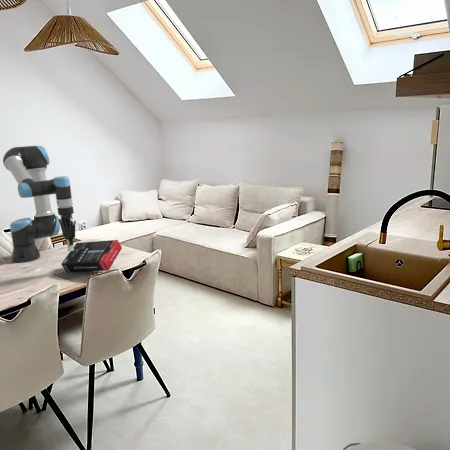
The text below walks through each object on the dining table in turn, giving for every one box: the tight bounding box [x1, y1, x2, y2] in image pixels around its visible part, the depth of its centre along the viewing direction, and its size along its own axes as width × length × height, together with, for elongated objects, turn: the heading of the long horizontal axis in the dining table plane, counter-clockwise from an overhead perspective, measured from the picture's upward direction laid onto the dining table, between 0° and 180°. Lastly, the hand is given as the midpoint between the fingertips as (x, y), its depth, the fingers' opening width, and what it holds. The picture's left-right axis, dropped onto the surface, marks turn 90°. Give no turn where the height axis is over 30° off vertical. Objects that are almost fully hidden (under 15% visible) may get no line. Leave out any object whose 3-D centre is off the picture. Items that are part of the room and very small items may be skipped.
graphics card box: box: [61, 239, 123, 272], centre depth 221 cm, size 17×7×27 cm
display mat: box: [54, 270, 94, 281], centre depth 223 cm, size 13×21×1 cm, turn 141°
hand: (71, 250), depth 223 cm, fingers closed
